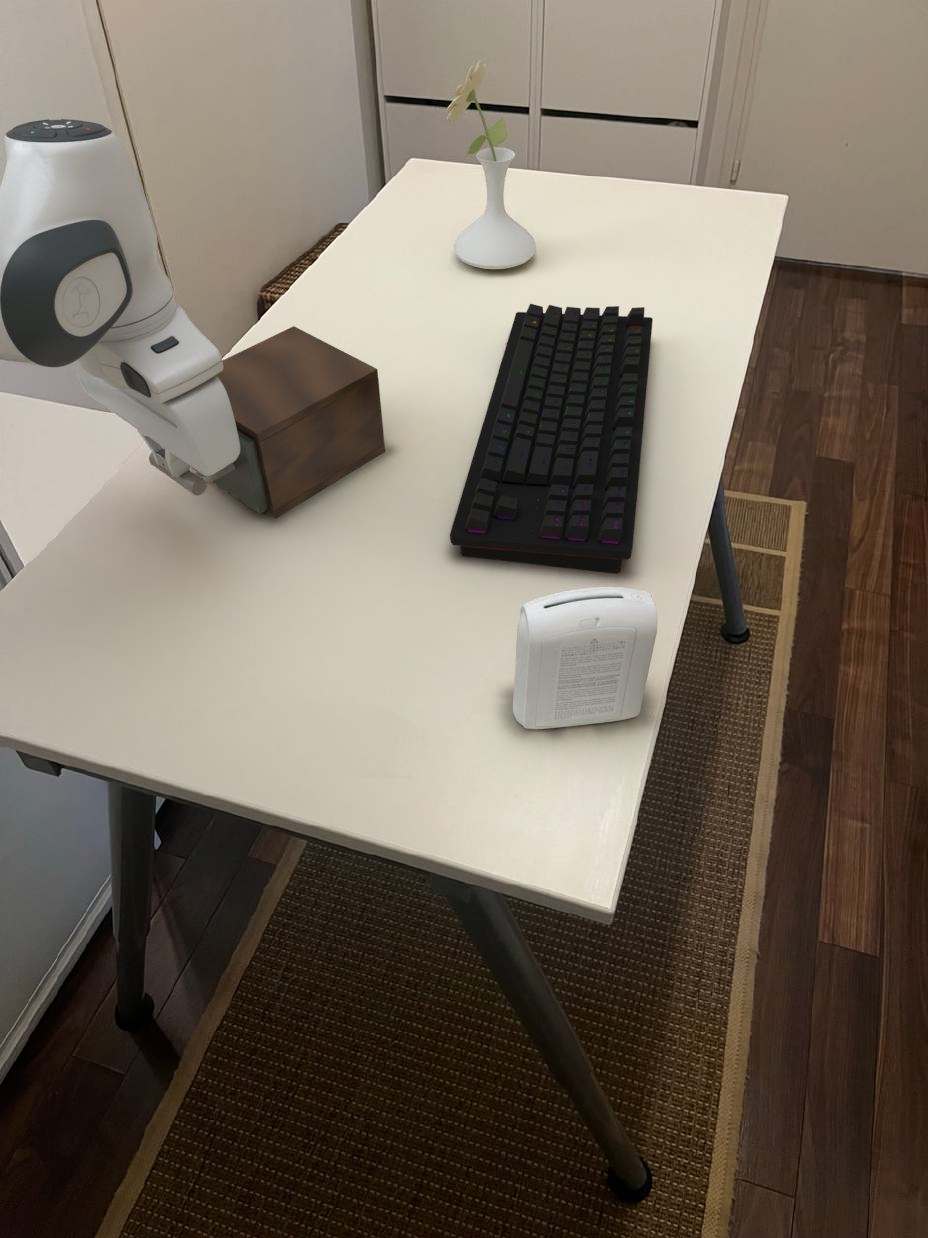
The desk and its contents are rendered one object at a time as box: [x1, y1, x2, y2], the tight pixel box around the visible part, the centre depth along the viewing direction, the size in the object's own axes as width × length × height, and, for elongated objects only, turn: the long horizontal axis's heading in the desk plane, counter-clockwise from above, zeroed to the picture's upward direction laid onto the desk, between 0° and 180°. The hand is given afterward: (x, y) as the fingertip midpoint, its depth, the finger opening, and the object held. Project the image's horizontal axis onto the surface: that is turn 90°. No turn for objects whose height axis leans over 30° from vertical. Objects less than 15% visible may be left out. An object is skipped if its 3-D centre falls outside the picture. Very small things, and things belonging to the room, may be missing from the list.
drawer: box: [148, 430, 269, 514], centre depth 91 cm, size 19×12×8 cm, turn 137°
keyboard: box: [449, 303, 654, 574], centre depth 97 cm, size 42×16×5 cm, turn 169°
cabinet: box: [216, 325, 386, 519], centre depth 93 cm, size 15×13×10 cm
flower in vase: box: [446, 59, 537, 270], centre depth 119 cm, size 13×11×25 cm
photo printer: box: [512, 586, 658, 730], centre depth 69 cm, size 10×4×12 cm, turn 98°
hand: (173, 467), depth 86 cm, fingers closed, pressing on drawer
